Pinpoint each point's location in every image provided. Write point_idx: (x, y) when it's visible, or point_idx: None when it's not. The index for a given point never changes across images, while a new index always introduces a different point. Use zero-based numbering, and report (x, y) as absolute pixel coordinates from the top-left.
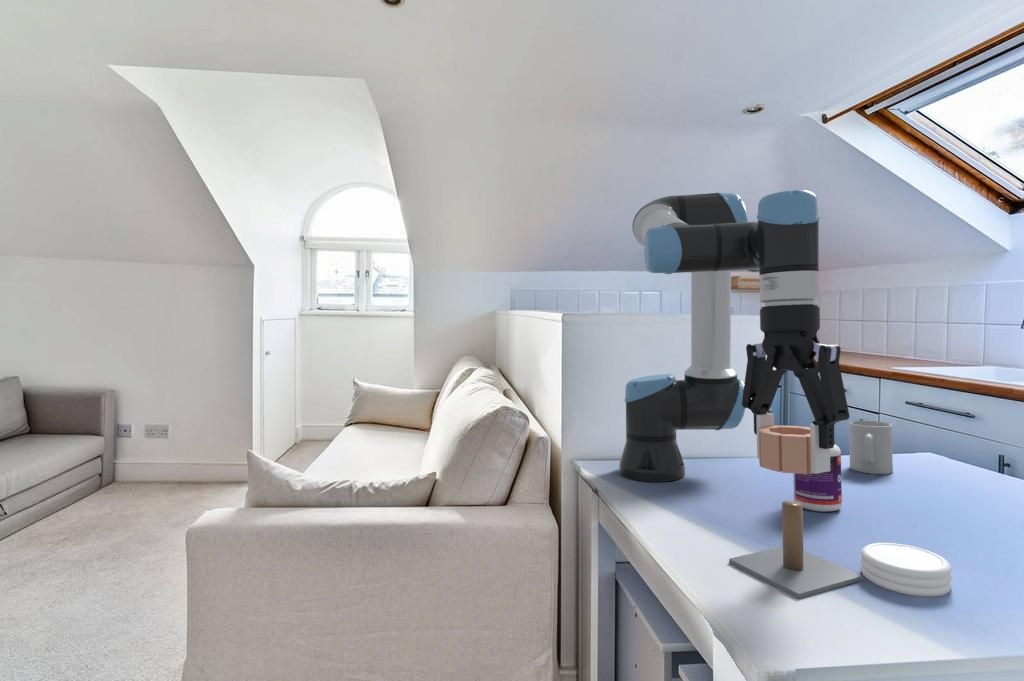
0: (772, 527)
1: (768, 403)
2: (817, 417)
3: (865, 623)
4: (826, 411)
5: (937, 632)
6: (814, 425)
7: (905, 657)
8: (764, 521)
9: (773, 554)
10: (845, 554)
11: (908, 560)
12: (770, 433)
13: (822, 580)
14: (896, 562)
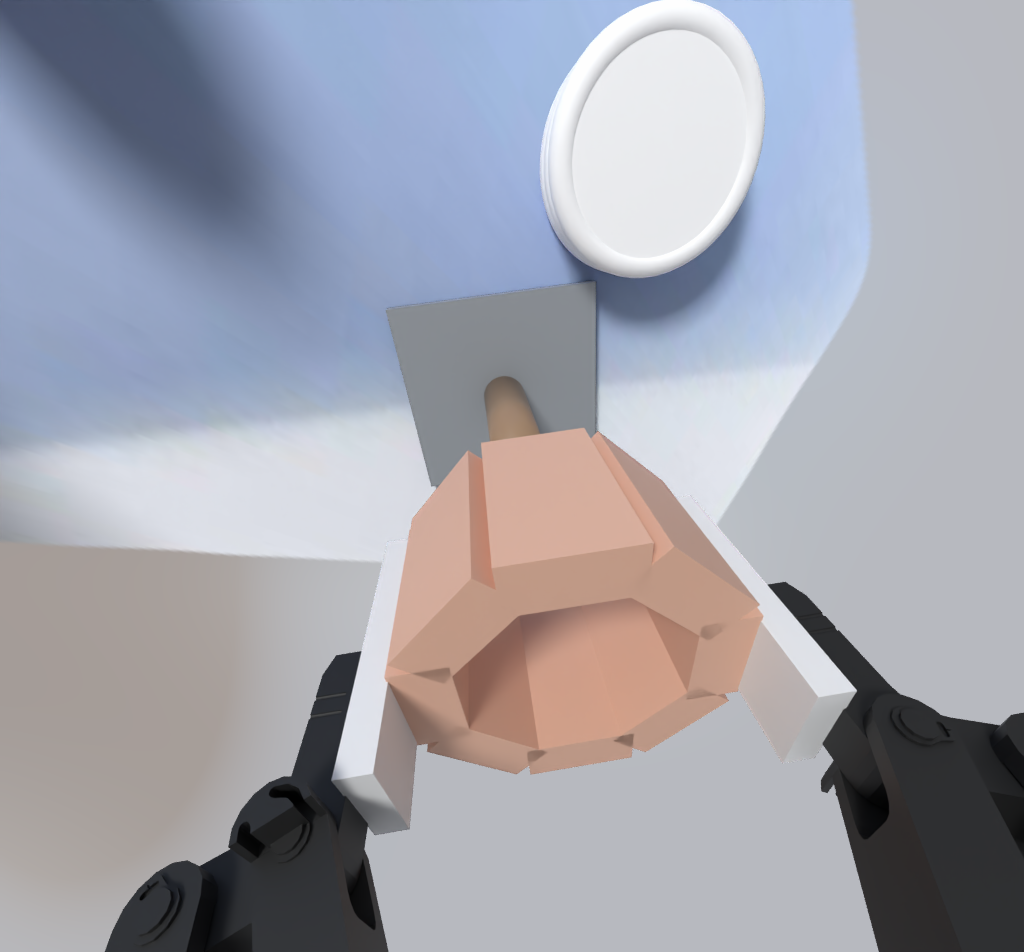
0: (204, 222)
1: (357, 917)
2: (866, 806)
3: (693, 419)
4: (929, 807)
5: (772, 334)
6: (808, 752)
7: (767, 438)
8: (134, 203)
9: (434, 391)
10: (459, 174)
11: (679, 174)
12: (582, 762)
13: (575, 386)
14: (668, 225)
